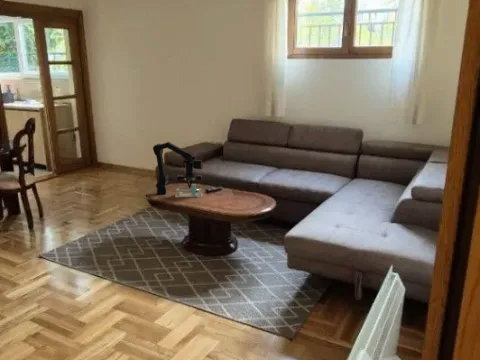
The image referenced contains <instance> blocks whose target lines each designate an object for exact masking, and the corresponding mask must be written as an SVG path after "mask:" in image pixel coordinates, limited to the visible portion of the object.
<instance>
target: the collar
mask: <svg viewBox="0 0 480 360" xmlns="http://www.w3.org/2000/svg"><path fill="white" fill-rule="evenodd" d="M196 186H197V184H196V183H195V184H193V183H192V184H191V187H190V188H191V189H192V192H191V193H192V195H196V193H197V192H196V189H197V187H196Z"/></svg>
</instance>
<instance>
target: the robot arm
mask: <svg viewBox="0 0 480 360" xmlns="http://www.w3.org/2000/svg"><path fill="white" fill-rule="evenodd" d="M164 149H169V150H170V151H172V152H175V154H177V155H180V156H181V157H182V158H183V159H184V160H183V161H182V163H183V164H184V165H185V176H184V175H183V174H177V177H176V181H182V180H184V182H186V184H187V186H188V189H191V188H192V187H191V186H192V184H193V182H194V181H195V180H197V181H202V180H203V176H202V174H196V173H194V170H203V168H204V163H203V160H201V159H198V160H197V158H196V157H195V156H194V152H192V151H190V150H189V151H188V150H184V149H182V148H181V147H179V146H178V145H176V144H173V143H171V142H170V141H167V142H164V143H157V144H154V145H153V146H152V150H153V154H154V155H155V157H156V162H157V163H156V164H157V169H158V179H157V180H158V182H157V183H156V184H155V187H156V191H157V192H156V195H157V196H163V195H164V196H165V195H166V194H167V187H166V186H167V184H168V183H169V179H170V178H169V174H167V173H166V171H165V170H166V169H165V163H164V159H163V158H164V157H163V153H164ZM195 174H196V175H195Z"/></svg>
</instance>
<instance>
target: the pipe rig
mask: <svg viewBox="0 0 480 360" xmlns="http://www.w3.org/2000/svg"><path fill="white" fill-rule="evenodd" d="M175 191H176V192H175V196H174V198H203V195H204V194H203V193H202V188H201V187H200V188H199V187H198V188H196V195H192V188H187V189H186V188H185V189H184V188H183V189H182V188H181V189H180V188H179V187H178V188H176V189H175Z"/></svg>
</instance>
